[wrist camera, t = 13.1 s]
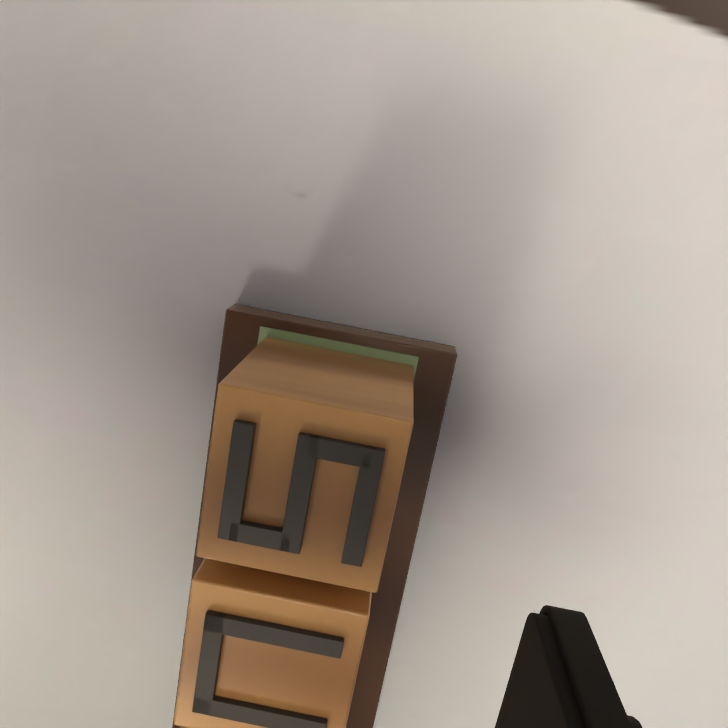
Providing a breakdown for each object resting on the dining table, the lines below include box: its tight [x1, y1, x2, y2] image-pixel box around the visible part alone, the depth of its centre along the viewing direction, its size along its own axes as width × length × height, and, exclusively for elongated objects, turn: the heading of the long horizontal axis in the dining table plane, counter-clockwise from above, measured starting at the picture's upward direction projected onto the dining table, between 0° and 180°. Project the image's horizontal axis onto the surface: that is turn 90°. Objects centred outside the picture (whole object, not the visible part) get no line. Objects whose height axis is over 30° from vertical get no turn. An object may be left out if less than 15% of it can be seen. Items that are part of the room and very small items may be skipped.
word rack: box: [172, 304, 457, 728], centre depth 20 cm, size 16×7×6 cm, turn 170°
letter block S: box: [196, 337, 414, 593], centre depth 18 cm, size 4×4×5 cm
